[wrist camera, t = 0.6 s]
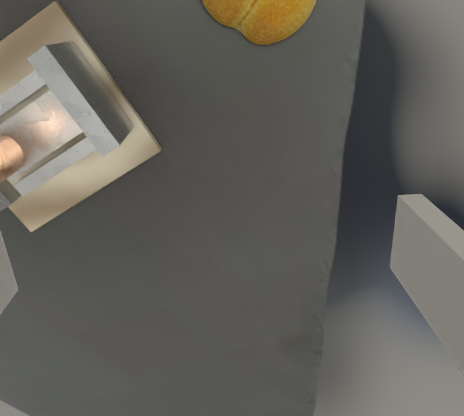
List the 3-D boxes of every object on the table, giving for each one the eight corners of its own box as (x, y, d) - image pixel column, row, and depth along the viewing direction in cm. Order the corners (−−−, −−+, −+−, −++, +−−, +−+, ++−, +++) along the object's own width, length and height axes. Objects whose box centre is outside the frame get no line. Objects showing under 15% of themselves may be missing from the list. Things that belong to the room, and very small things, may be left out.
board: (-79, 103, 37) (-85, 105, 36) (58, 1, 34) (54, 0, 33) (34, 228, 42) (31, 232, 41) (162, 148, 39) (161, 150, 38)
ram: (-40, 121, 36) (-155, 167, 25) (73, 41, 34) (1, 51, 23) (26, 196, 39) (-51, 267, 28) (134, 126, 37) (97, 173, 26)
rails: (-54, 137, 37) (-68, 143, 35) (53, 61, 35) (44, 63, 33) (8, 204, 40) (-3, 213, 38) (110, 137, 37) (105, 143, 36)
